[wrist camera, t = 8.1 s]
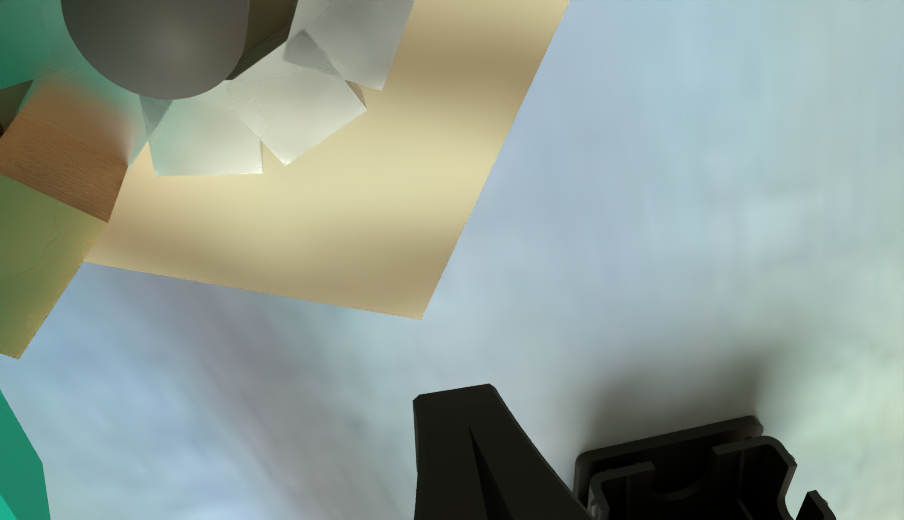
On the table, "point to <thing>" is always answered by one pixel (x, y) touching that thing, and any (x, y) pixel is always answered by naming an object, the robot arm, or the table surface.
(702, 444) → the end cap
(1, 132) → the dowel
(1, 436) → the table top decor
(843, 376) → the table surface
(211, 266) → the board
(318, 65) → the flange
